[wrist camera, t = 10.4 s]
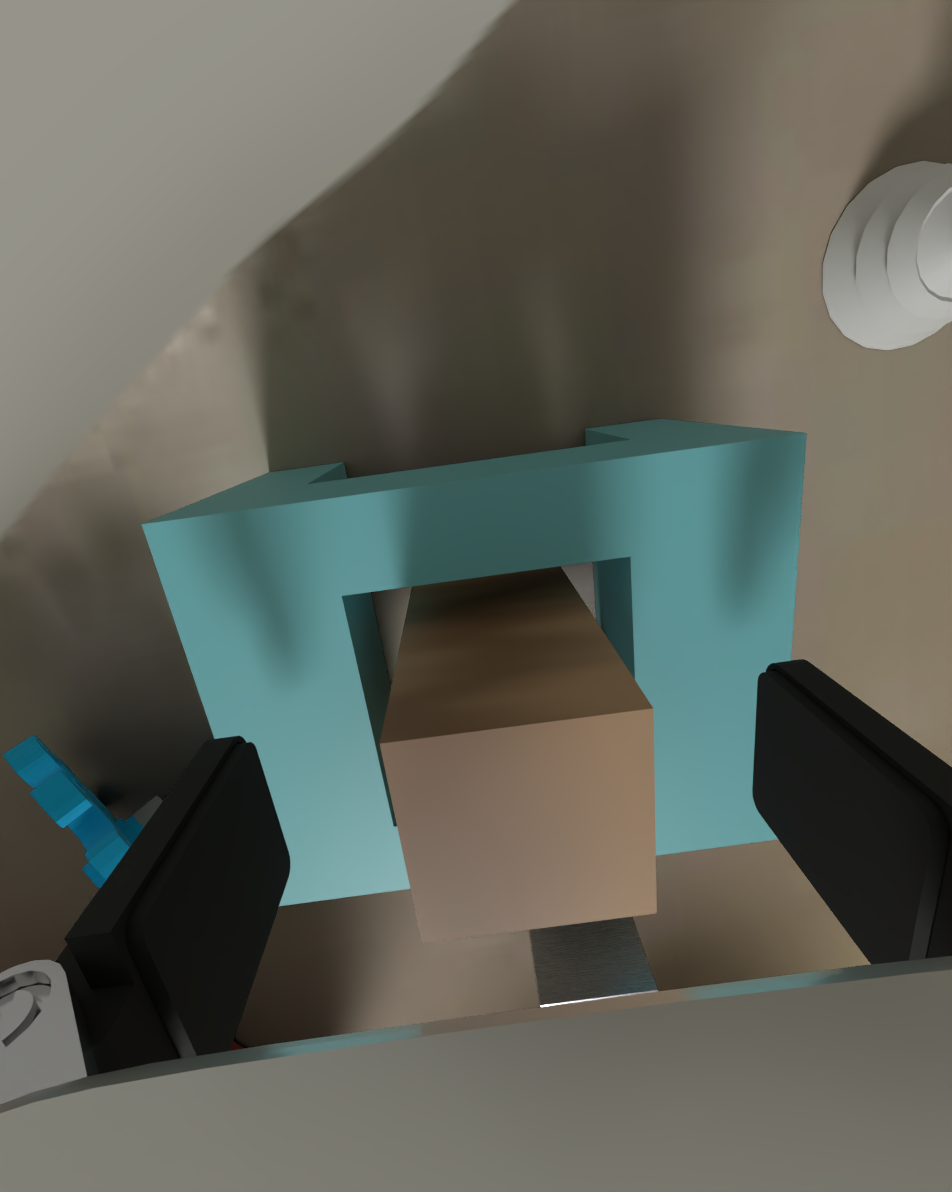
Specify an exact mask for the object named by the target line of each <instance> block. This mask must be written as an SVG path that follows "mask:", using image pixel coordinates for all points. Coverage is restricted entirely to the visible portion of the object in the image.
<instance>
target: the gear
mask: <svg viewBox="0 0 952 1192" xmlns="http://www.w3.org/2000/svg"><path fill="white" fill-rule="evenodd" d="M3 756H4V757H5V759H6V760H7V762H8V763H9V764H10V766H11V767H12V768H13V769H14V771H15V772H16V773H17V774H18V775H19V776H20V777H21V778H22V779H23V780H24V781H25V782H26V783H27V784H29V785H30V786H31V787H33V788H35V789H34V790H33V791H31V792H30V794H31V795H32V797H33V798H34V799H35V800H36V801H37V802H38V804H39V805H40V806H41V807H42V808H43V809H44V810H45V812H46V813H47V814H48V815H49V816H50V817H51V818H52V819H53V820H54V821H55V822H56V823H57V824H58V825H59V826H60V827H62V828H64V827H65V826H68V827H69V828H70V830H71V831H72V832H73V833H74V834H75V835H76V836H77V837H78V838H79V840H80V841H81V842H82V843H83V845H84V848H85V850H86V851H87V852H86V853H85V854H84V856H85V857H86V859H87V860H88V861H89V863H87V864H86V865H85V866H84V867H83V868H82V869H83V871H84V872H85V874H86V875H87V876H88V877H89V878H90V880H91V881H92V882H93V883H94V884H95V885H96V886H97V887H98V888H101V887H102V885H103V884H104V882H105V881H106V880H107V878H108V877H109V876H110V874H111V873H112V871H113V870H114V869H115V867H116V866H117V864H118V863H119V862H120V860H121V859H122V857H123V856H124V855H125V853H126V852H127V850H128V849H129V848H130V846H131V845H132V843H133V842H134V841H135V839H136V838H137V836H138V835H139V834H140V832H141V831H142V829H143V828H144V827H145V825H146V824H147V822H148V821H149V820H150V818H151V817H152V815H153V814H154V813H155V811H156V810H157V808H158V807H159V806H160V804H161V803H162V800H161V799H160V798H159V797H158V796H157V795H156V796H155V797H154V798H153V799H152V800H150V801H149V802H148V803H147V804H145V805H144V806H143V807H142V808H140V809H139V810H138V811H137V812H135V813H134V814H133V815H132V816H131V817H129V818H128V819H127V820H126V821H124V820H123V819H122V818H121V817H120V818H118V819H117V820H116V819H115V818H114V816H113V815H112V814H111V813H110V811H109V810H108V809H107V808H106V807H105V806H104V804H103V803H102V802H101V801H100V800H99V799H98V798H97V797H96V796H95V795H94V794H93V793H92V792H91V791H90V790H89V789H88V788H86V787H85V786H84V785H83V784H82V783H81V782H80V781H79V779H78V778H77V777H76V776H75V775H74V774H73V773H72V771H71V770H70V769H69V768H68V767H67V766H66V765H65V764H64V763H63V762H62V761H61V760H60V759H59V758H58V757H57V756H56V755H55V754H54V755H53V754H52V753H51V751H50V750H49V749H48V748H47V747H46V746H45V745H44V744H43V743H42V742H41V741H40V740H39V739H38V737H37V736H31V737H29V738H28V739H26V740H24V741H23V742H21V743H20V744H18V745H17V746H15V747H14V748H12V749H11V750H9V751H8V752H6V753H5V754H3Z"/></svg>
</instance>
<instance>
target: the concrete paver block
mask: <svg viewBox="0 0 952 1192" xmlns="http://www.w3.org/2000/svg"><path fill="white" fill-rule="evenodd" d="M529 937H530V944H531V951H532V958H533V965H534V972H535V979H536V986H537V993H538V999H539V1006H540V1007H546V1006H553V1005H560V1004H568V1003H576V1002H583V1001H591V1000H598V999H606V998H613V997H621V996H628V995H636V994H644V993H651V992H658V989H657V986H656V983H655V980H654V977H653V974H652V972H651V969H650V966H649V963H648V960H647V957H646V954H645V951H644V949H643V946H642V943H641V940H640V937H639V934H638V931H637V928H636V926H635V923H634V920H633V917H624V918H617V919H609V920H601V921H593V922H586V923H578V924H570V925H562V926H555V927H547V928H539V929H531V930H529Z"/></svg>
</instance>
